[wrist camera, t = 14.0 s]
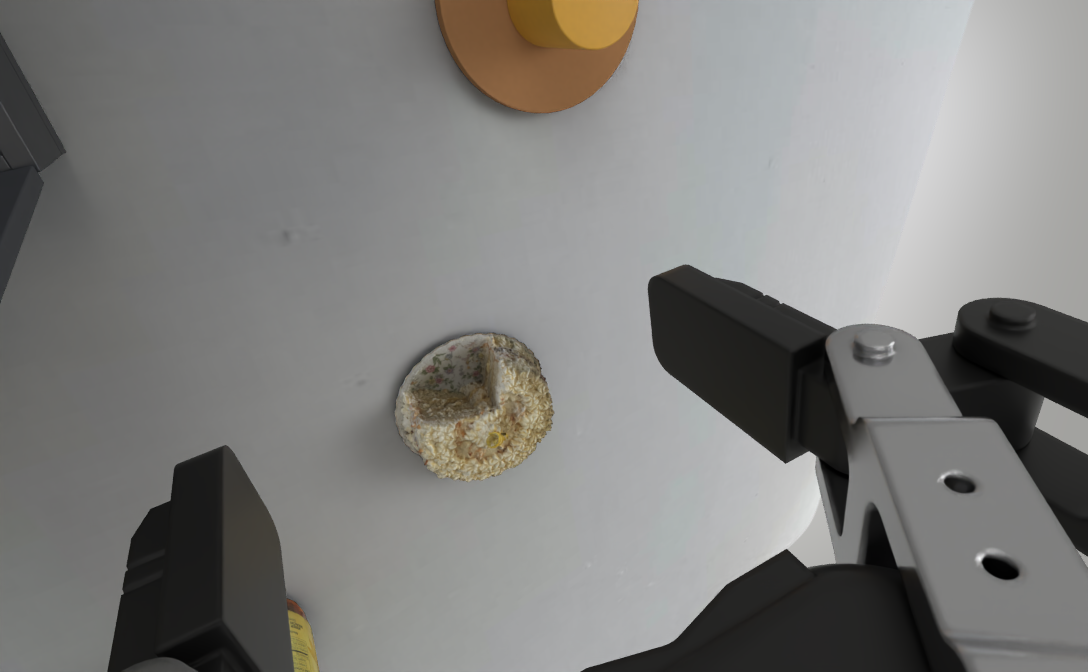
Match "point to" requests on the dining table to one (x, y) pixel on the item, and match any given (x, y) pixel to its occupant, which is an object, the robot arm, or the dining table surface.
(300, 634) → the sauce bottle
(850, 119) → the dining table surface
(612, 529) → the dining table surface
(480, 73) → the coaster
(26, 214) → the lid
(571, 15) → the orange cylinder
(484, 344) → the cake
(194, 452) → the dining table surface
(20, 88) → the grey storage bin
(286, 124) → the dining table surface
